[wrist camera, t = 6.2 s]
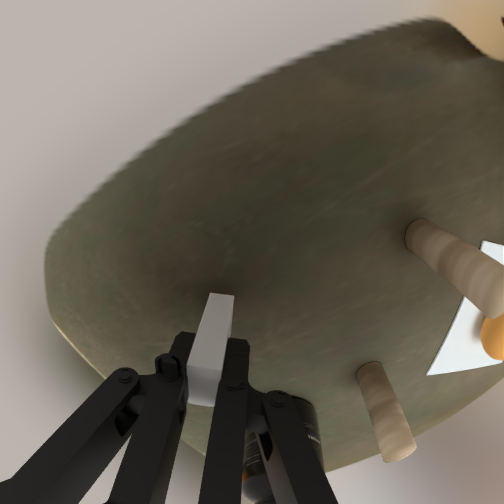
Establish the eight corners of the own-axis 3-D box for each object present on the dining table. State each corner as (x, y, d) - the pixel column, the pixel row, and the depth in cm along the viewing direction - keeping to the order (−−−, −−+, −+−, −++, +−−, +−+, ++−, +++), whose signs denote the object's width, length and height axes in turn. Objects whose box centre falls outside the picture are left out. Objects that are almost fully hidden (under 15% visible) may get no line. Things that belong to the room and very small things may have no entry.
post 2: (436, 222, 17) (522, 272, 8) (427, 254, 18) (504, 318, 9) (409, 216, 17) (497, 268, 8) (401, 250, 18) (477, 319, 9)
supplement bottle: (328, 400, 23) (350, 513, 12) (296, 436, 25) (304, 532, 14) (260, 387, 22) (257, 514, 11) (235, 425, 25) (226, 529, 13)
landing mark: (546, 258, 17) (547, 258, 17) (500, 361, 22) (501, 362, 22) (482, 239, 17) (483, 240, 17) (425, 373, 22) (426, 375, 22)
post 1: (386, 361, 21) (423, 441, 13) (376, 381, 22) (406, 459, 14) (361, 361, 21) (393, 447, 13) (352, 382, 22) (377, 465, 14)
